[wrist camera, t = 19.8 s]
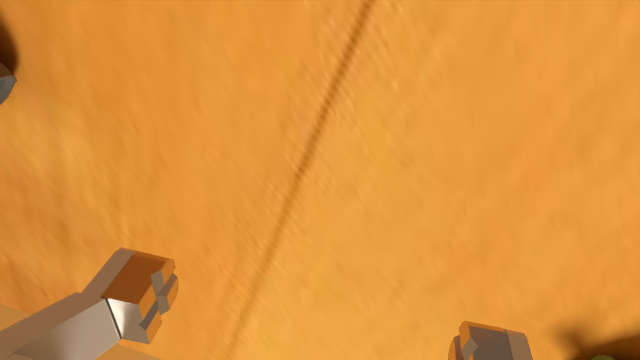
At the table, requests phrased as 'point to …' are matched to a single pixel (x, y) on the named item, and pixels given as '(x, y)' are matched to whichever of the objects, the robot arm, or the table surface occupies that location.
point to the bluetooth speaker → (5, 82)
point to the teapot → (602, 357)
